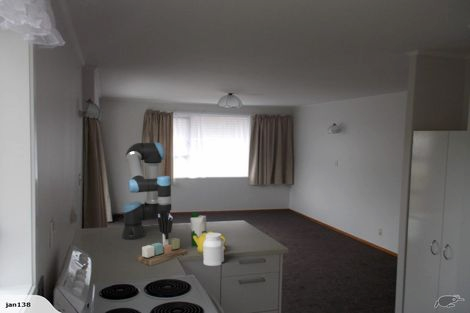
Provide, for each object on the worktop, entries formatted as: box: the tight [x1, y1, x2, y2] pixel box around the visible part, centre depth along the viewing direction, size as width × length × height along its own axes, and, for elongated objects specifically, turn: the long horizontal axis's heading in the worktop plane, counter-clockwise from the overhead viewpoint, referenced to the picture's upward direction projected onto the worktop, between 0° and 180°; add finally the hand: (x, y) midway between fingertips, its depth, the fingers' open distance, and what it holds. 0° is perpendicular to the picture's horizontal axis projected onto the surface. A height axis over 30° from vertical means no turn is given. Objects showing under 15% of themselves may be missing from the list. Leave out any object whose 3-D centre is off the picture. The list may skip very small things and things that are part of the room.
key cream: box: [141, 244, 154, 258], centre depth 200 cm, size 5×5×5 cm
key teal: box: [150, 242, 163, 255], centre depth 205 cm, size 5×5×5 cm
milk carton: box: [190, 212, 207, 247], centre depth 229 cm, size 9×9×20 cm
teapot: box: [193, 231, 227, 254], centre depth 216 cm, size 20×12×12 cm, turn 73°
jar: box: [202, 232, 225, 267], centre depth 197 cm, size 12×10×15 cm
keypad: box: [135, 247, 188, 267], centre depth 207 cm, size 14×25×2 cm, turn 139°
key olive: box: [168, 237, 181, 250], centre depth 214 cm, size 5×5×5 cm
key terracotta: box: [163, 244, 172, 254], centre depth 210 cm, size 5×5×5 cm
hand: (165, 244), depth 210 cm, fingers closed
